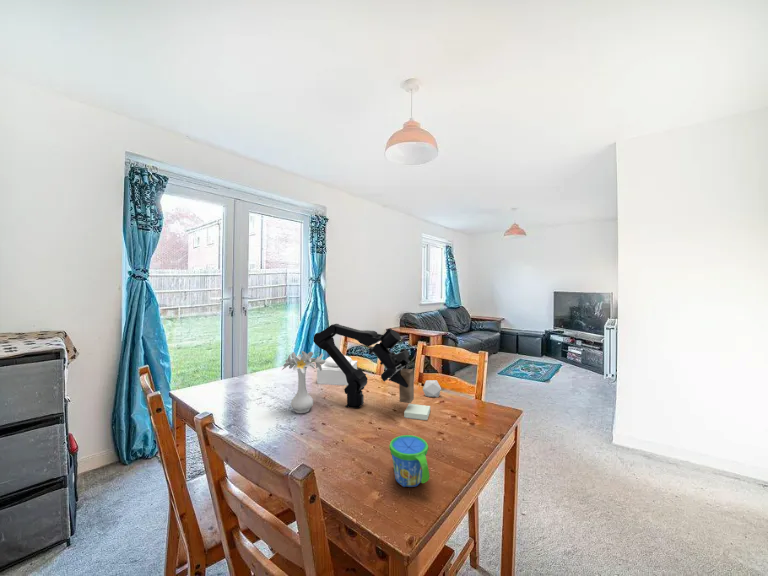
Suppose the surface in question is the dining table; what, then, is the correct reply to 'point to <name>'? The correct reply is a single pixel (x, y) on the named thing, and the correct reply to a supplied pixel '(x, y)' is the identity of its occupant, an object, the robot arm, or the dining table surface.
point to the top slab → (417, 411)
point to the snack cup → (409, 460)
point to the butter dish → (333, 372)
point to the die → (432, 388)
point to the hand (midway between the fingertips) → (409, 385)
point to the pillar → (408, 392)
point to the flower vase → (302, 379)
